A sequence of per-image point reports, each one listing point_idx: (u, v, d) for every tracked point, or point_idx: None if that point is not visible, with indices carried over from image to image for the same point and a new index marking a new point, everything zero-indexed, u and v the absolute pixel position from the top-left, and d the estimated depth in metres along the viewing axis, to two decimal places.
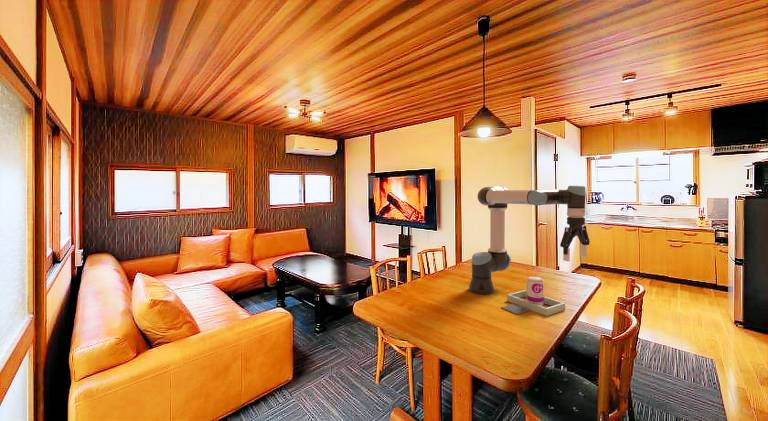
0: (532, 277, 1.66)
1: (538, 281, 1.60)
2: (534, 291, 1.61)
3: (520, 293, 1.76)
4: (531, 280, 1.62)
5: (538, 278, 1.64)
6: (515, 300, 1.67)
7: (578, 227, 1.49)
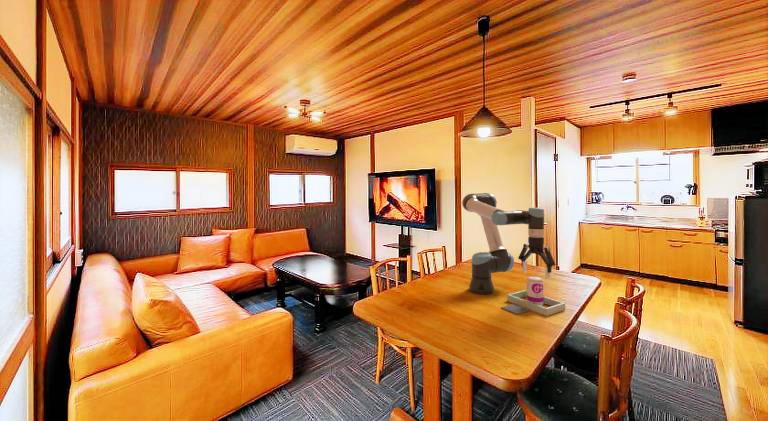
0: (532, 277, 1.66)
1: (538, 281, 1.60)
2: (534, 291, 1.61)
3: (520, 293, 1.76)
4: (531, 280, 1.62)
5: (538, 278, 1.64)
6: (515, 300, 1.67)
7: (535, 246, 1.62)
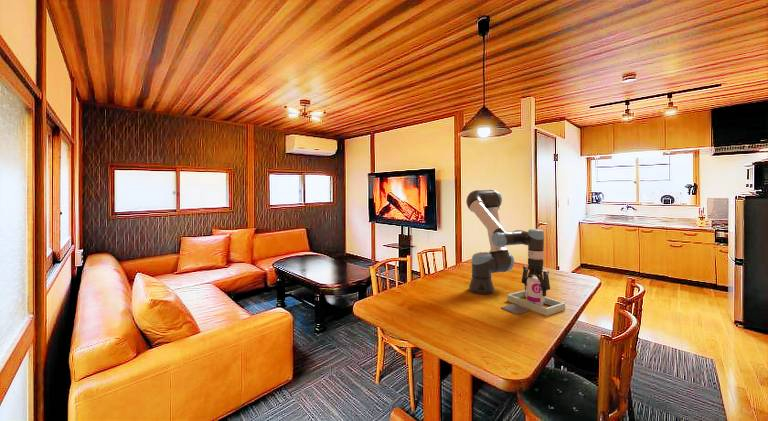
0: (532, 277, 1.66)
1: (538, 281, 1.60)
2: (534, 291, 1.61)
3: (520, 293, 1.76)
4: (531, 280, 1.62)
5: None
6: (515, 300, 1.67)
7: (534, 268, 1.63)
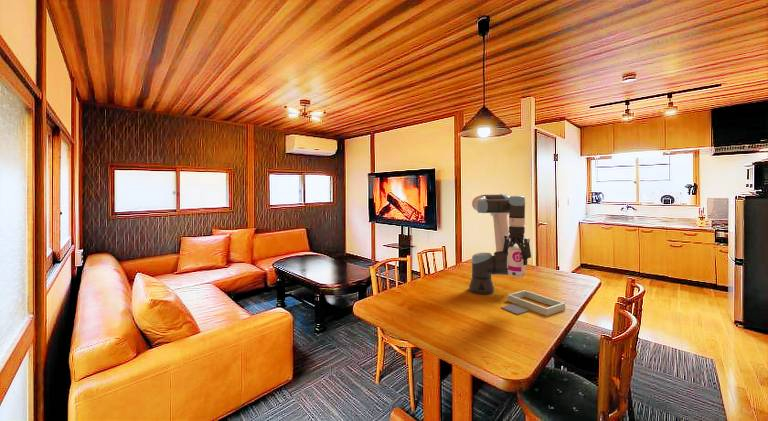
0: (513, 246, 1.59)
1: (519, 250, 1.53)
2: (515, 260, 1.54)
3: (520, 293, 1.76)
4: (512, 249, 1.55)
5: None
6: (515, 300, 1.67)
7: (515, 236, 1.56)
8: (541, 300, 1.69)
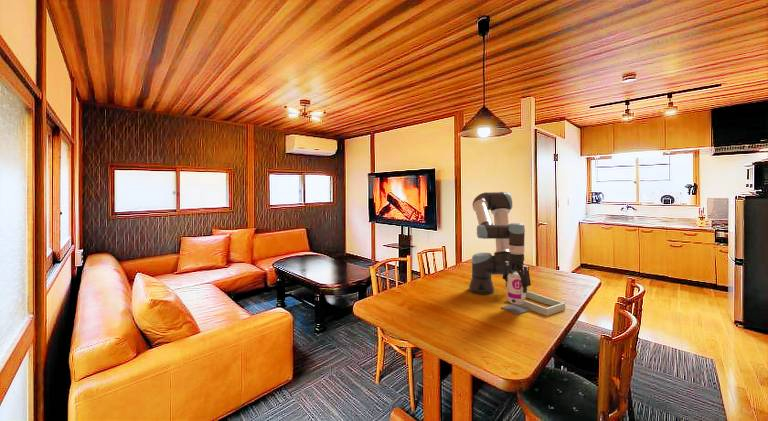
0: (513, 273, 1.60)
1: (519, 277, 1.54)
2: (515, 287, 1.55)
3: None
4: (511, 276, 1.56)
5: None
6: None
7: (515, 263, 1.57)
8: (541, 300, 1.69)
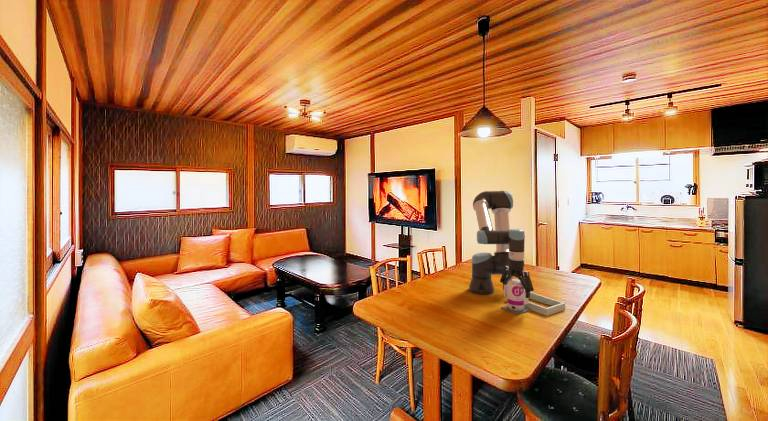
0: (513, 279, 1.60)
1: (518, 284, 1.55)
2: (515, 294, 1.55)
3: None
4: (511, 283, 1.57)
5: (519, 280, 1.58)
6: None
7: (515, 269, 1.57)
8: (541, 300, 1.69)
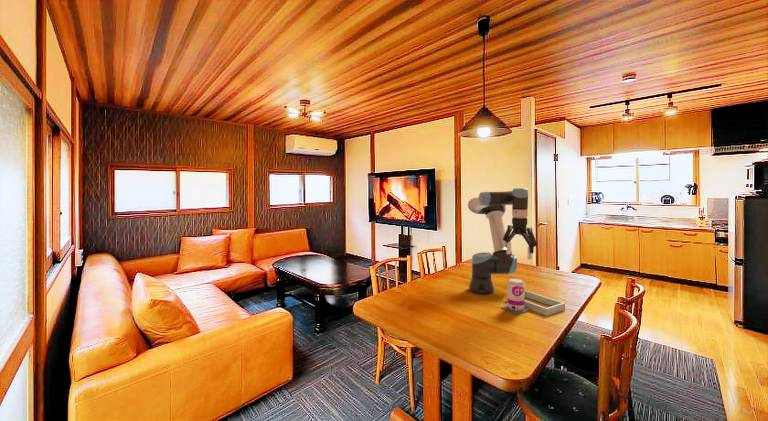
0: (513, 279, 1.60)
1: (518, 284, 1.55)
2: (515, 294, 1.55)
3: None
4: (511, 283, 1.57)
5: (519, 280, 1.58)
6: None
7: (518, 227, 1.61)
8: (541, 300, 1.69)
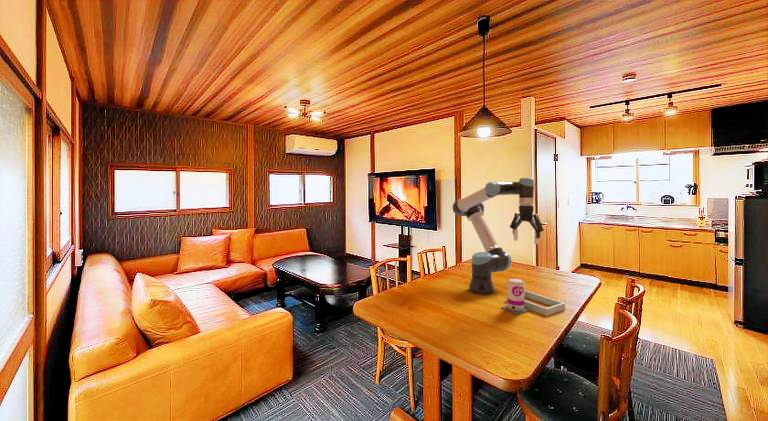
0: (513, 279, 1.60)
1: (518, 284, 1.55)
2: (515, 294, 1.55)
3: None
4: (511, 283, 1.57)
5: (519, 280, 1.58)
6: None
7: (525, 214, 1.72)
8: (541, 300, 1.69)
